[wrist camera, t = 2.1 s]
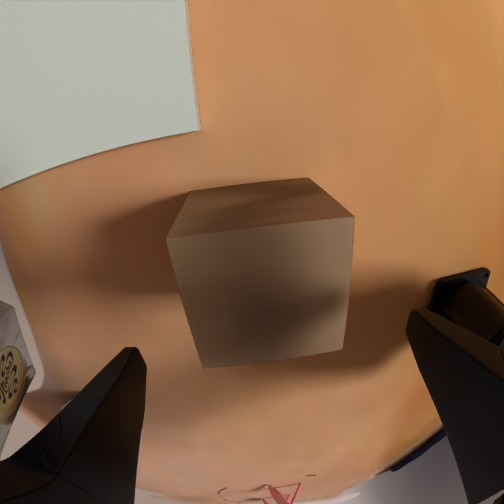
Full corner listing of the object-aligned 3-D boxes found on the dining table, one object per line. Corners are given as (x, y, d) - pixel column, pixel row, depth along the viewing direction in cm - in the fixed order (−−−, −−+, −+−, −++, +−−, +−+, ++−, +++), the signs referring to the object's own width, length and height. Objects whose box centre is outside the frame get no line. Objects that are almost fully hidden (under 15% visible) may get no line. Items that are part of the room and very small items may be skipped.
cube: (308, 177, 14) (354, 216, 9) (310, 277, 17) (342, 349, 11) (190, 191, 14) (165, 239, 9) (209, 290, 17) (203, 368, 11)
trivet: (182, -78, 6) (180, -88, 5) (201, 129, 13) (198, 130, 11) (-8, 9, 6) (-18, 7, 5) (-1, 188, 12) (-12, 194, 11)
